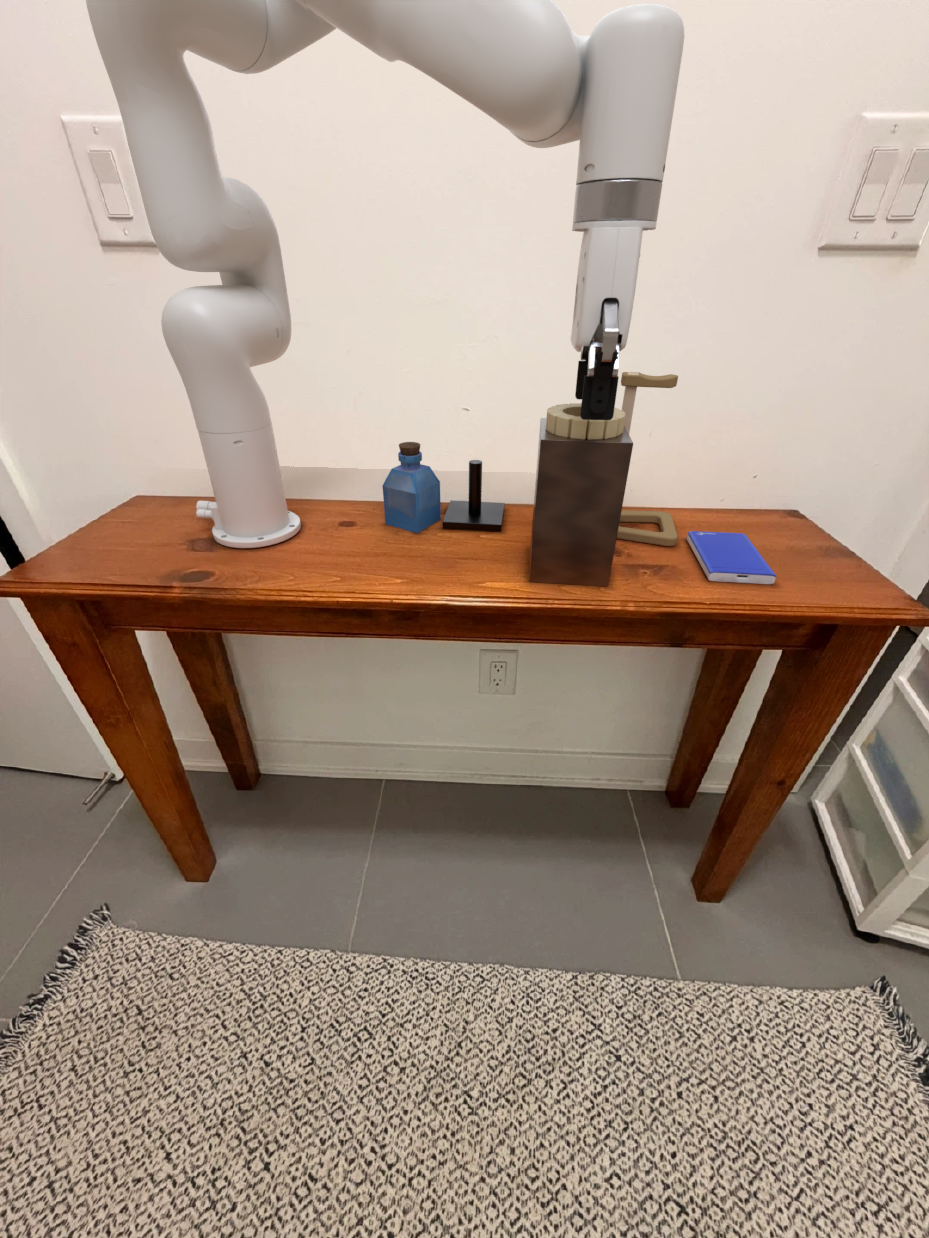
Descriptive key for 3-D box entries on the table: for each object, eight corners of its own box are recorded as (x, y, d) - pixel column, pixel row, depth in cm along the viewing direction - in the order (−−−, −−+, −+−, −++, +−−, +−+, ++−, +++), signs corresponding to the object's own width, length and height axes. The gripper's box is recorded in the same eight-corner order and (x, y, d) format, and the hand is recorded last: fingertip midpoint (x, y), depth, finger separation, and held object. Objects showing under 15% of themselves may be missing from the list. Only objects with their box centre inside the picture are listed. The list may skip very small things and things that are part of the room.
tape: (546, 438, 60) (547, 419, 59) (545, 419, 67) (546, 402, 66) (627, 441, 59) (630, 422, 58) (617, 421, 67) (620, 404, 65)
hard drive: (688, 530, 79) (710, 570, 69) (746, 533, 79) (777, 574, 68) (685, 540, 80) (707, 581, 70) (743, 543, 80) (773, 585, 69)
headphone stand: (677, 547, 78) (717, 384, 66) (599, 541, 80) (624, 380, 68) (669, 519, 87) (703, 370, 75) (599, 514, 88) (621, 367, 76)
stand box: (528, 582, 70) (540, 439, 60) (530, 548, 78) (540, 417, 68) (608, 587, 69) (633, 443, 59) (601, 551, 77) (622, 420, 67)
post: (442, 529, 83) (441, 470, 78) (450, 507, 91) (450, 451, 86) (501, 532, 82) (503, 472, 77) (504, 509, 90) (507, 454, 85)
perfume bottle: (440, 519, 86) (439, 443, 80) (417, 533, 82) (413, 453, 75) (409, 511, 89) (405, 436, 82) (385, 524, 85) (379, 446, 78)
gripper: (569, 218, 57) (555, 392, 66) (579, 203, 42) (559, 427, 52) (642, 217, 56) (618, 393, 65) (678, 201, 42) (640, 429, 51)
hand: (592, 408), depth 59 cm, fingers open, 9 cm apart
